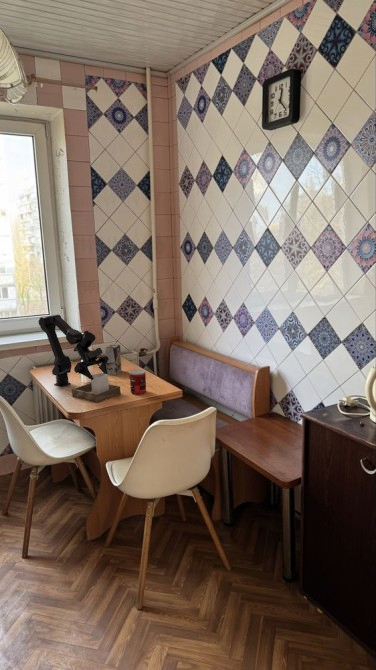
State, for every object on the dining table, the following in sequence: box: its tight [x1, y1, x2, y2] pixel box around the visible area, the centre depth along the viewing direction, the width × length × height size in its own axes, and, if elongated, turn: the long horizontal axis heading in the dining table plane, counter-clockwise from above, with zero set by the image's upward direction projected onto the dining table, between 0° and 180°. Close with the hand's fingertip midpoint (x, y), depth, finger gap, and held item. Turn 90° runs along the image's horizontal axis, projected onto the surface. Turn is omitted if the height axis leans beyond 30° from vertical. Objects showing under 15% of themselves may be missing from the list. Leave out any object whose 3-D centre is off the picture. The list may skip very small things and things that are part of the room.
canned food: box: [129, 369, 147, 395], centre depth 242 cm, size 8×8×11 cm
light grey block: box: [90, 372, 110, 394], centre depth 239 cm, size 6×6×10 cm
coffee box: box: [104, 344, 122, 376], centre depth 279 cm, size 9×6×16 cm
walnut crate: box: [71, 382, 121, 404], centre depth 240 cm, size 18×16×4 cm
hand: (100, 377), depth 238 cm, fingers open, 9 cm apart
